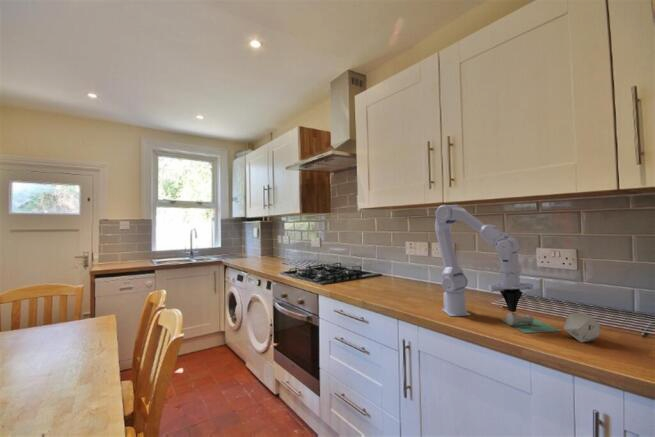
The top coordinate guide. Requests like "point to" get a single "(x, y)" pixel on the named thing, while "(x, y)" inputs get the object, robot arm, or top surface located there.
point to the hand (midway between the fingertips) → (512, 311)
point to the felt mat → (534, 327)
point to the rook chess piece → (518, 319)
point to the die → (582, 327)
